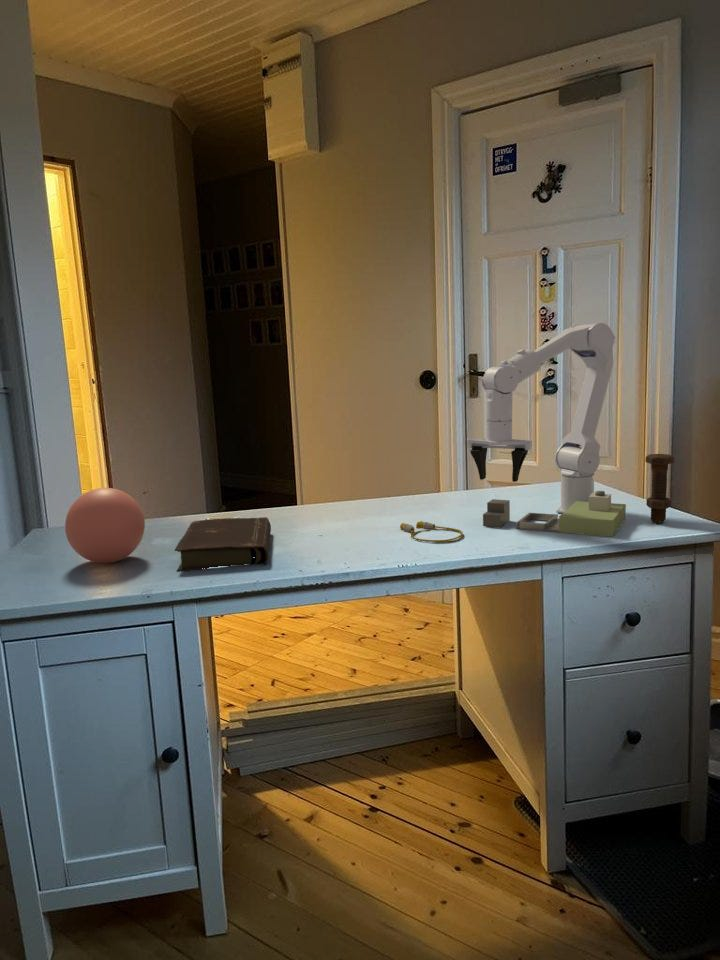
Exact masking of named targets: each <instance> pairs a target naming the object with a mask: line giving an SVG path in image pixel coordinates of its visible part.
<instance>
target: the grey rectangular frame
mask: <svg viewBox="0 0 720 960" xmlns="http://www.w3.org/2000/svg"><path fill="white" fill-rule="evenodd" d="M530 521H543V522H544V521H545V523H542V522H541V523H540V522H530ZM516 529H518V530H528V531H529V530H530V531H539V532H551V533H552V532H554V533H560V532H559V515H558V514H555V513H554V514H553V513H539V512H528V513H526V514H525V515H524V516H523V517H521V518H520V519H519V520H518V521H517V522H516Z"/></svg>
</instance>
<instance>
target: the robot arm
mask: <svg viewBox="0 0 720 960" xmlns="http://www.w3.org/2000/svg"><path fill="white" fill-rule="evenodd" d="M615 339H616V336H615V333H614V332H613V331H612V329H611V327H610V326H609V325H608V324H606V323H604V322H597V323H588V324H573V325H572V326H570V327H568V328H566V329H564V330H562V332H560V333H559V334H557V335H555V336H554V337H553V338H551V339H550V340H549V341H546V342H545V343H543V344H541V346H539V347H538V348H536V349H535V350H532V349H529V348H527V349H524V348H522V349H518V350H517V351H516V353H517V354H516V355H514V356H513V357H510V358H509V359H507V360H506V359H505V360H502V361H500V364H499V366H491V367H489V368H488V369H487V370H486V371H485V373H484V374H483V378H482V379H481V381H480V382H481V386H482V387H483V389H484V390H485V397H486V414H485V415H486V418H485V419H486V422H485V423H486V426H485V427H486V430H485V431H486V433H485V435H486V436H485V438H484V437H483V438H468V439H467V443H466V444H467V445H466V446H467V448H471V449H470V451H469V452H470V454H471V457H472V458H473V461H474V463H475V465H476V468H477V471H478V472H477V473H478V476H479V480H480V481H482V480H485V479H486V478H487V465H486V464H487V455H488V449H502V450H503V449H507V450H511V461H512V471H511V472H512V474H511V480H512V481H511V482H513V483H516V482H518V481H519V478H520V473H521V468H522V466H523V464H524V461H525V458H526V457H527V455H528V453H529V451H531V450H532V449H533V440H527V439H524V440H523V439H518V438H517V439H516V438H513V392H514V391H515V390H516V389H517V387H518V385H519V384H520V383H521V382H524V381H525V380H527V379H528V378H530V377H532V376H533V375H535V374H536V373H538V372H540V371H541V368H542V364H543V363H544V362H547V361H549V360H550V359H553V358H554V357H556V356H558V355H560V354H562V353H564V352H566V351H567V350H570V351H572V352H573V353H574V354H575V355H576V356H577V357H578V358H580V359H581V360H582V361H583V363H584V364H585V367H586V371H585V376H584V379H583V384H582V387H581V391H580V395H579V399H578V403H577V407H576V412H575V415H574V417H573V423H572V426H571V431H570V432H569V433H568V434H566V435H565V436H564V437H563V438H562V441H561V444H560V446H559V448H558V449H557V450H556V452H555V454H554V462H555V465H556V467H557V468H558V469H559V473H560V507H558V508H557V510H556V511H555V513H559V514H563V513H564V512H565V511H566V510H567V509H568V508H569V507H570V506H571V505H572V504H574V503H575V502H576V501H581V502H589V496H590V495H591V494H592V493H595V481H594V476H595V472H597V470H598V468H599V466H600V462H601V461H600V460H601V459H600V449H601V445H600V443H599V442H598V440H597V438H596V437H595V436H596V432H597V428H598V425H599V420H600V418H601V413H602V410H603V405H604V402H605V398H606V393H607V390H608V386H609V383H610V379H611V375H612V372H613V371H612V370H613V367H614V355H613V348H614V343H615V341H616V340H615Z"/></svg>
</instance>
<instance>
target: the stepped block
mask: <svg viewBox="0 0 720 960" xmlns="http://www.w3.org/2000/svg"><path fill="white" fill-rule="evenodd" d="M486 505H487V507H486V508H487V509H486V510H487V511H486V512H484V513H483V514H482V527H483V526H487V527H486V528H494V527H499V528H498V529H500V528H501V529H502V528H503V527H504V526H505V525H506V524H507V522H508V521H509V522H510V520H511V517H510V515H511V513H510V511H511V510H510V508H511V506H510V505H511V503H510V500H509V499H496V498H495V499H494V498H492V499H491V500H489V501H488V502H487V503H486ZM509 522H508V523H509ZM504 524H505V525H504ZM503 525H504V526H503Z"/></svg>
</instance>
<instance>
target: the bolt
mask: <svg viewBox="0 0 720 960" xmlns="http://www.w3.org/2000/svg"><path fill="white" fill-rule="evenodd" d="M645 463H647V464H650V466H651V467H650V470H651V482H650V483H651V489H650V494H651V495H650V497H648V498H647V499H646V504H645V505H646V506H647V507H648V508H649V509H650V521H651V523H653V524H655V523H656V524H655V525H658V524H660V523H661V524H664V523H665V521H666V519H667V509H668V508H670V507H671V506H672V501H671V499H670V498H669V497H667V489H668V471H669V465H671V464H674V463H675V457H674V455H672V454H667V453H651V454H647V455H646V456H645Z"/></svg>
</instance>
